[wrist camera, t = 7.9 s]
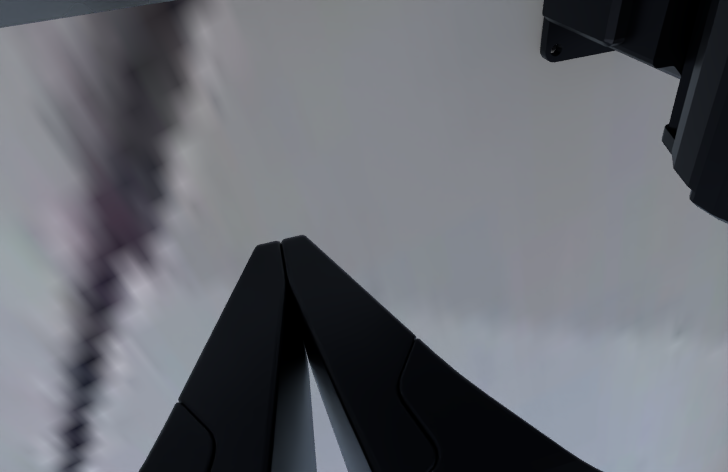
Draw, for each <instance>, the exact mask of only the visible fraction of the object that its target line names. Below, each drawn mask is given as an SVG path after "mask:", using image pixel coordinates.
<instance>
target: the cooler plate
mask: <svg viewBox="0 0 728 472" xmlns="http://www.w3.org/2000/svg"><path fill="white" fill-rule="evenodd" d="M167 1H173V0H0V28H2V27H9V26H15V25H21V24H28V23H34V22H40V21H47V20H53V19H59V18H66V17H72V16H78V15H84V14H91V13H97V12H103V11H110V10H116V9H122V8H129V7H135V6H141V5H148V4H154V3H160V2H167Z"/></svg>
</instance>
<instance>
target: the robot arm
mask: <svg viewBox="0 0 728 472" xmlns="http://www.w3.org/2000/svg"><path fill="white" fill-rule="evenodd" d="M542 13H543V16H544V23H543V31H542V39H541V47H540V54H541V56H542V57H543V58H544V59H546V60H548V61H550V62H559V61H564V60H569V59H574V58H579V57H584V56H589V55H595V54H600V53H605V52H610V51H615V50H616V51H618V52H620V53H623V54H625V55H627V56H629V57H632V58H634V59H636V60H638V61H640V62H643V63H645V64H647V65H649V66H652V67H654V68H656V69H658V70H660V71H663V72H665V73H667V74H669V75H672V76H674V77H676V78H678V79H680V83H679V87H678V91H677V95H676V98H675V102H674V106H673V110H672V114H671V118H670V122H669V124H667V125H666V126H665V129H664V133H663V137H662V142H663V143H664V145H665V146H666V147H667V149H668V150H669V152H670V153H671V154H672V160H673V168H674V170H675V171H676V172H677V174H678V175H679V176H680V177H681V179H682V180H683V181H684V182H685V184H686V185H687V186H688V187H689V188H690V189H691V193H690V200H691V201H692V202H693V203H694V204H695V205H696V206H697V207H699V208H701V209H702V210H704V211H705V212H707V213H709V214H710V215H712V216H713V217H715V218H717V219H718V220H721V221H723V222H725V223H728V0H544V4H543V12H542ZM555 44H557V47H556V50H555V51H554V52H553V53H551V49H552V47H553V46H554V45H555ZM305 348H306V349H305ZM306 352H307V354H306ZM307 356H308V360H309V363H310V366H311V369H312V372H313V375H314V378H315V381H316V383H317V386H318V389H319V392H320V394H321V397H322V400H323V403H324V406H325V408H326V411H327V414H328V417H329V419H330V422H331V425H332V428H333V431H334V433H335V436H336V439H337V442H338V444H339V447H340V450H341V453H342V456H343V458H344V461H345V464H346V467H347V469H348V472H603V471H601V470H599V469H597V468H595V467H593V466H591V465H589V464H588V463H586V462H584V461H582V460H581V459H579V458H578V457H576V456H575V455H573V454H572V453H570V452H569V451H567V450H566V449H564V448H563V447H561V446H560V445H559V444H557V443H556V442H554V441H553V440H551V439H550V438H549V437H547V436H546V435H544V434H543V433H541V432H540V431H539V430H537V429H536V428H534V427H533V426H531V425H530V424H529V423H527V422H526V421H524V420H523V419H522V418H520V417H519V416H517V415H516V414H514V413H513V412H512V411H510V410H509V409H507V408H506V407H504V406H503V405H502V404H500V403H499V402H497V401H496V400H494V399H493V398H492V397H490V396H489V395H487V394H486V393H485V392H483V391H482V390H481V389H479V388H478V387H477V386H475V385H474V384H473V383H471V382H470V381H469V380H467V379H466V378H464V377H463V376H462V375H460V374H459V373H458V372H457V371H456V370H454V369H453V368H452V367H451V366H450V365H449V364H447V363H446V362H445V361H444V360H443V359H441V358H440V357H439V356H438V355H437V354H435V353H434V352H433V351H432V350H431V349H430V348H429V347H428V346H427V345H426V344H425V343H423V342H422V341H421V340H420V339H416V336H415V335H414V334H413V333H412V332H411V331H410V330H409V329H408V328H407V327H405V326H404V325H403V324H402V323H401V322H400V321H399V320H398V319H397V318H396V317H394V316H393V315H392V314H391V313H390V312H389V311H388V310H387V309H386V308H384V307H383V306H382V305H381V304H380V303H379V302H378V301H377V300H376V299H375V298H373V297H372V296H371V295H370V294H369V293H368V292H367V291H366V290H365V289H364V288H362V287H361V286H360V285H359V284H358V283H357V282H356V281H355V280H354V279H352V278H351V277H350V276H349V275H348V274H347V273H346V272H345V271H344V270H343V269H341V268H340V267H339V266H338V265H337V264H336V263H335V262H334V261H333V260H332V259H330V258H329V257H328V256H327V255H326V254H325V253H324V252H323V251H322V250H320V249H319V248H318V247H317V246H316V245H315V244H314V243H313V242H312V241H311V240H309V239H308V238H307V237H306V236H304V235H299V236H295V237H291V238H286V239H283V240H282V242H281V243H280V242H279V241H273V242H269V243H265V244H260V245H257V246H256V247H255V249H254V251H253V253H252V255H251V257H250V259H249V261H248V263H247V265H246V267H245V269H244V271H243V273H242V275H241V277H240V278H239V280H238V282H237V284H236V286H235V288H234V290H233V292H232V294H231V296H230V298H229V300H228V302H227V304H226V306H225V308H224V310H223V312H222V314H221V316H220V318H219V320H218V322H217V324H216V326H215V328H214V330H213V332H212V334H211V336H210V338H209V339H208V341H207V343H206V345H205V347H204V349H203V351H202V353H201V355H200V357H199V359H198V361H197V363H196V365H195V367H194V369H193V371H192V373H191V375H190V377H189V379H188V381H187V383H186V385H185V387H184V389H183V391H182V393H181V395H180V397H179V399H178V400H179V402H178V403H176V404H175V406H174V408H173V410H172V412H171V414H170V416H169V418H168V420H167V422H166V424H165V425H164V427H163V429H162V431H161V433H160V435H159V437H158V438H157V440H156V442H155V444H154V446H153V448H152V449H151V451H150V453H149V455H148V457H147V459H146V460H145V462H144V464H143V465H142V467H141V469H140V470H139V472H317V469H316V456H315V443H314V430H313V417H312V404H311V392H310V379H309V368H308V360H307Z"/></svg>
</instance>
